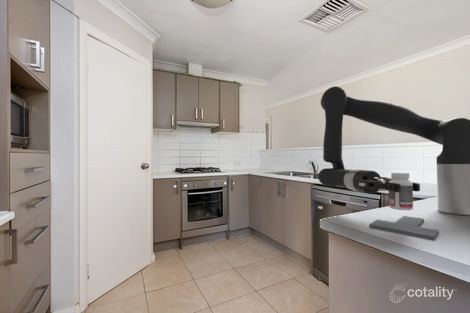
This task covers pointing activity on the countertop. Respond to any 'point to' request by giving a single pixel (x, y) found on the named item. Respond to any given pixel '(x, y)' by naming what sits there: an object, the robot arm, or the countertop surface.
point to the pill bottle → (401, 192)
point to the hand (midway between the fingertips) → (409, 187)
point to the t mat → (406, 227)
